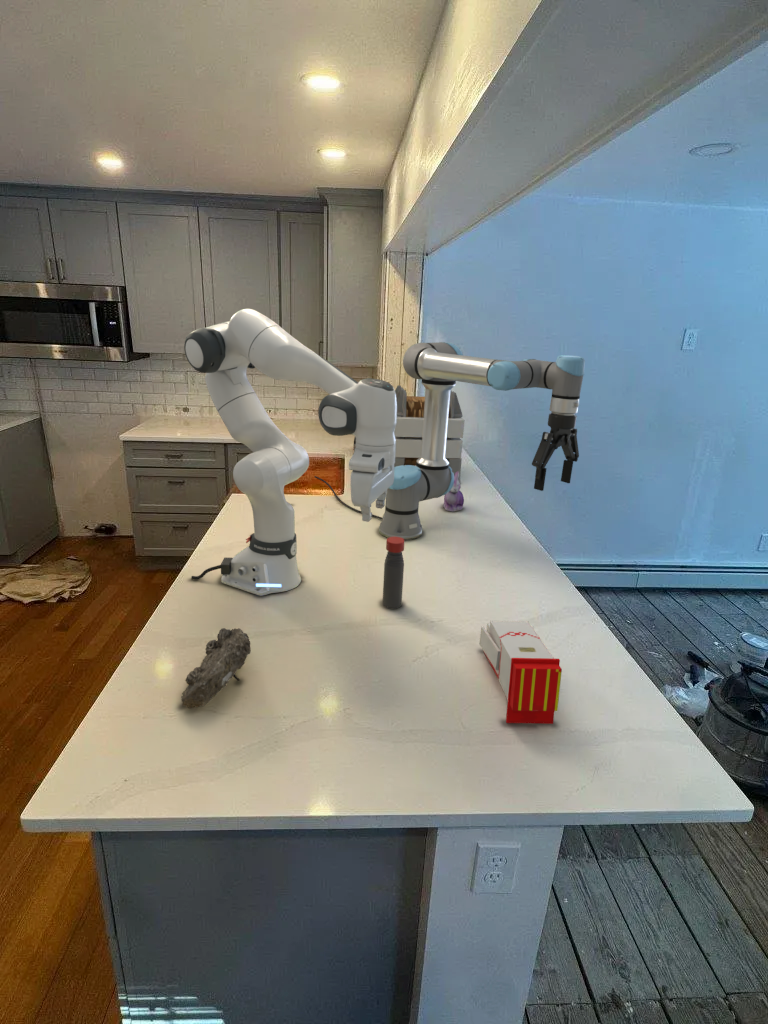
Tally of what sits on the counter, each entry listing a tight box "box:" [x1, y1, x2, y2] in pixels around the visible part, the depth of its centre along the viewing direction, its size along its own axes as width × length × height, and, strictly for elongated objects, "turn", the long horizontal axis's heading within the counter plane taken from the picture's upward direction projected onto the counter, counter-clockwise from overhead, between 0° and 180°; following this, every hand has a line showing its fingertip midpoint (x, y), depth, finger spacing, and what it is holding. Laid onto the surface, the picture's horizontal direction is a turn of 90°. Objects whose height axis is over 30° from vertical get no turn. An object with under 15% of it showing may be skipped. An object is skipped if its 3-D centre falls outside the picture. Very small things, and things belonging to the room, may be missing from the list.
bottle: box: [382, 551, 405, 610], centre depth 149 cm, size 5×5×18 cm
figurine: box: [442, 471, 465, 512], centre depth 226 cm, size 9×10×15 cm
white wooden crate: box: [394, 384, 465, 483], centre depth 268 cm, size 34×33×41 cm
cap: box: [385, 537, 405, 553], centre depth 146 cm, size 5×5×2 cm
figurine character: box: [352, 437, 356, 451], centre depth 309 cm, size 7×8×15 cm
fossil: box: [180, 627, 252, 709], centre depth 117 cm, size 22×10×15 cm
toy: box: [478, 620, 563, 725], centre depth 121 cm, size 12×13×30 cm
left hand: (373, 513), depth 130 cm, fingers open, 8 cm apart
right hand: (552, 485), depth 166 cm, fingers open, 13 cm apart
